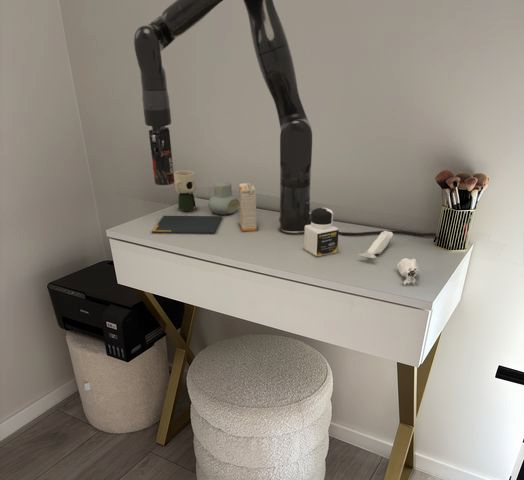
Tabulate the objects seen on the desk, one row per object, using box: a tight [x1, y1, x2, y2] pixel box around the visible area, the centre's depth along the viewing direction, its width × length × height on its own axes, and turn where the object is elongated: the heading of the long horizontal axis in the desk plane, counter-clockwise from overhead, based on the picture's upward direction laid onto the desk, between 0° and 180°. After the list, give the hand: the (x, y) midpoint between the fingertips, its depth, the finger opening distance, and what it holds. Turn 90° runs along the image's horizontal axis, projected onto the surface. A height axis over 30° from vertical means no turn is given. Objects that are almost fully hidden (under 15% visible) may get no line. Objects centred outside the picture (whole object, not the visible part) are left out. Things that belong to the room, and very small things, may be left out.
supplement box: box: [238, 182, 258, 232], centre depth 169 cm, size 8×5×13 cm, turn 8°
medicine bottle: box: [303, 207, 340, 257], centre depth 151 cm, size 7×7×12 cm
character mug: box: [173, 169, 197, 212], centre depth 185 cm, size 11×7×13 cm, turn 155°
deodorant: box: [148, 129, 175, 186], centre depth 159 cm, size 6×6×15 cm
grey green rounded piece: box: [207, 180, 240, 216], centre depth 183 cm, size 11×8×10 cm
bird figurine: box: [396, 257, 420, 286], centre depth 136 cm, size 5×7×10 cm
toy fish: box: [357, 230, 394, 259], centre depth 151 cm, size 6×18×4 cm, turn 150°
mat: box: [151, 215, 223, 235], centre depth 175 cm, size 20×16×1 cm
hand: (163, 167), depth 161 cm, fingers closed on deodorant, 6 cm apart
